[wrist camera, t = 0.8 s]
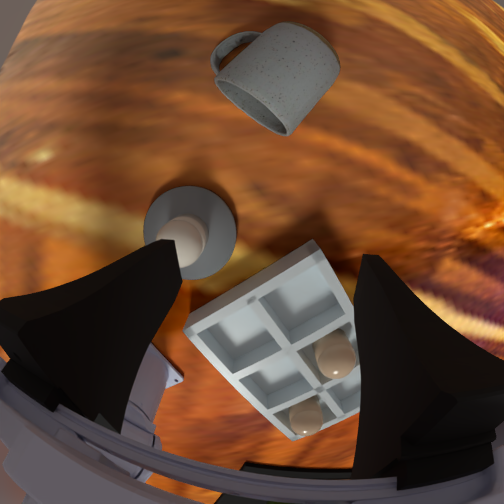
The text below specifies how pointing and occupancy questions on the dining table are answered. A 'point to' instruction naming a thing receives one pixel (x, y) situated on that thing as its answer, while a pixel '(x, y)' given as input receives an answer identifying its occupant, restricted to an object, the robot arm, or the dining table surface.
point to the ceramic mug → (277, 73)
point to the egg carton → (281, 337)
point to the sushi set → (238, 503)
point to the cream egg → (186, 237)
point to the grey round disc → (209, 211)
